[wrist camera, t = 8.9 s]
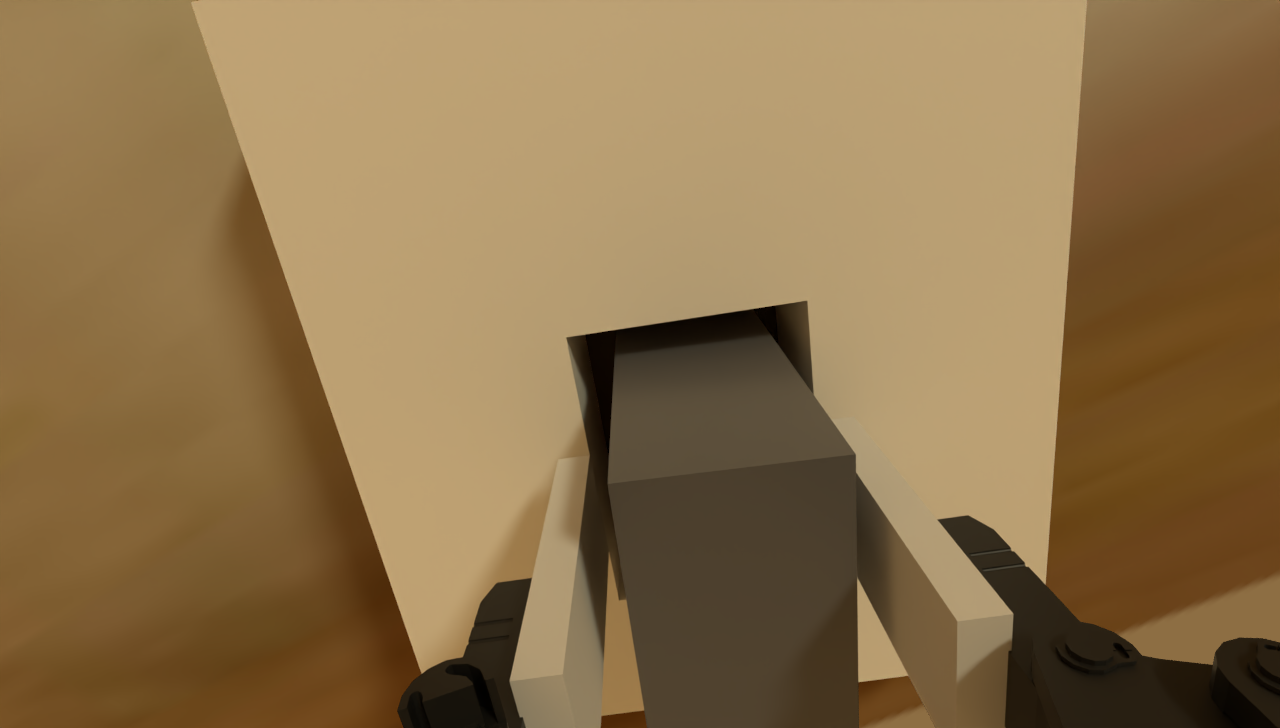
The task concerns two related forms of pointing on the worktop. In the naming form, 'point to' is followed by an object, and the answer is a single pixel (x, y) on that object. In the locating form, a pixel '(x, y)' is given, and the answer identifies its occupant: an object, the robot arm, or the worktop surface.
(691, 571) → the plug
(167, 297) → the worktop surface
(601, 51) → the socket plate
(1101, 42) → the worktop surface
